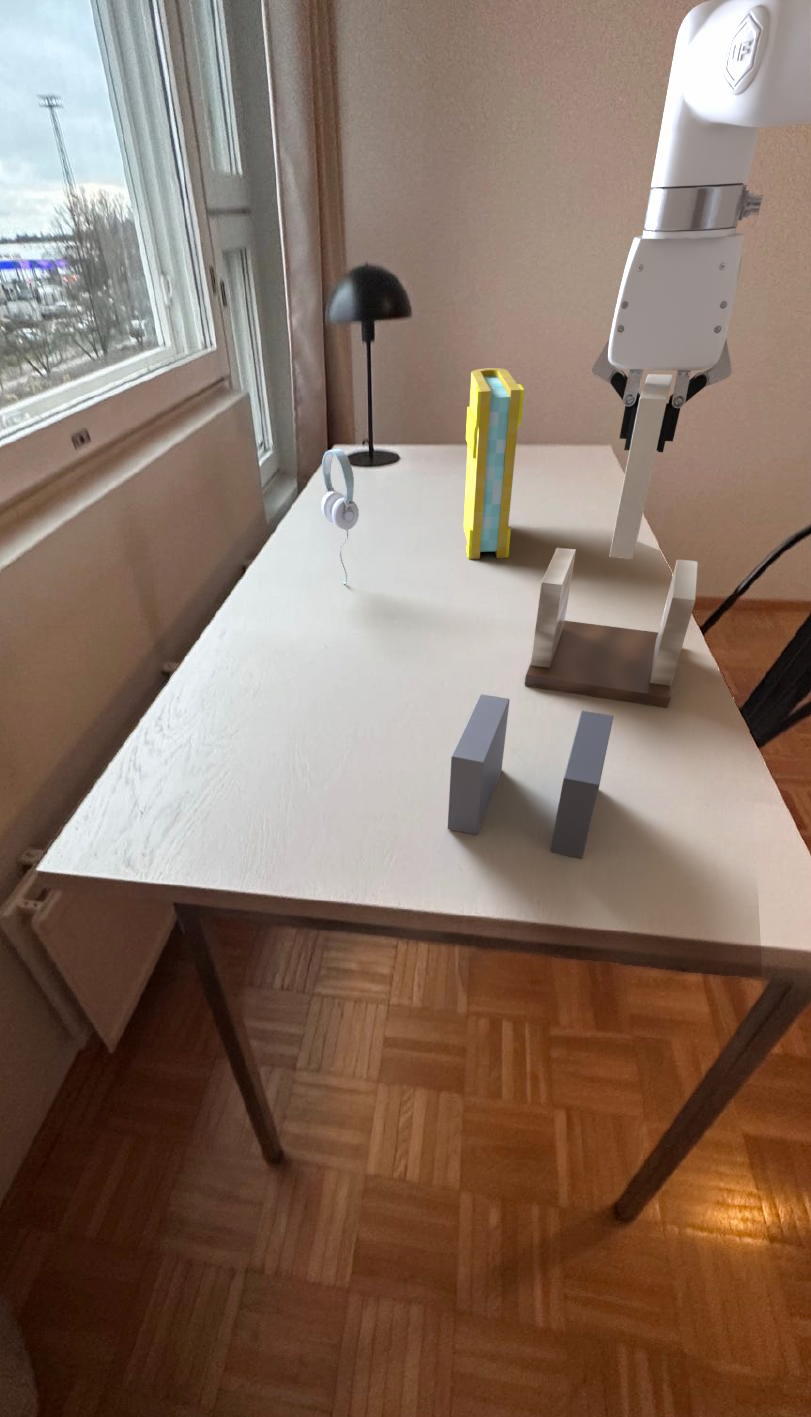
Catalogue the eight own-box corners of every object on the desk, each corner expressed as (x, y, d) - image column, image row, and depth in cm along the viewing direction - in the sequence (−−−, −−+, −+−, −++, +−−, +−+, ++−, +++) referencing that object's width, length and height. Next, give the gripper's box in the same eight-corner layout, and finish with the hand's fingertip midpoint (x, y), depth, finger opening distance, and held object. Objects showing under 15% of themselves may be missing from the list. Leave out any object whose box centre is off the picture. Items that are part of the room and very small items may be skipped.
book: (508, 557, 119) (524, 389, 103) (468, 559, 120) (477, 391, 103) (495, 521, 132) (508, 367, 116) (459, 523, 132) (467, 369, 116)
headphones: (366, 590, 112) (361, 454, 99) (344, 596, 111) (336, 459, 98) (343, 572, 118) (336, 441, 105) (322, 577, 116) (311, 446, 103)
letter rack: (674, 644, 95) (699, 553, 87) (667, 707, 84) (695, 610, 76) (546, 628, 100) (559, 540, 92) (524, 685, 89) (536, 591, 81)
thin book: (640, 523, 82) (672, 374, 72) (632, 559, 74) (667, 398, 65) (619, 521, 83) (648, 373, 73) (609, 557, 75) (639, 398, 65)
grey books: (596, 787, 74) (613, 715, 68) (582, 859, 66) (599, 785, 60) (474, 763, 77) (480, 693, 72) (447, 828, 70) (451, 756, 64)
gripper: (793, 209, 61) (729, 442, 73) (600, 216, 65) (569, 434, 77) (800, 213, 55) (730, 463, 67) (589, 220, 60) (558, 453, 72)
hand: (644, 446), depth 72 cm, fingers closed on thin book, 2 cm apart
